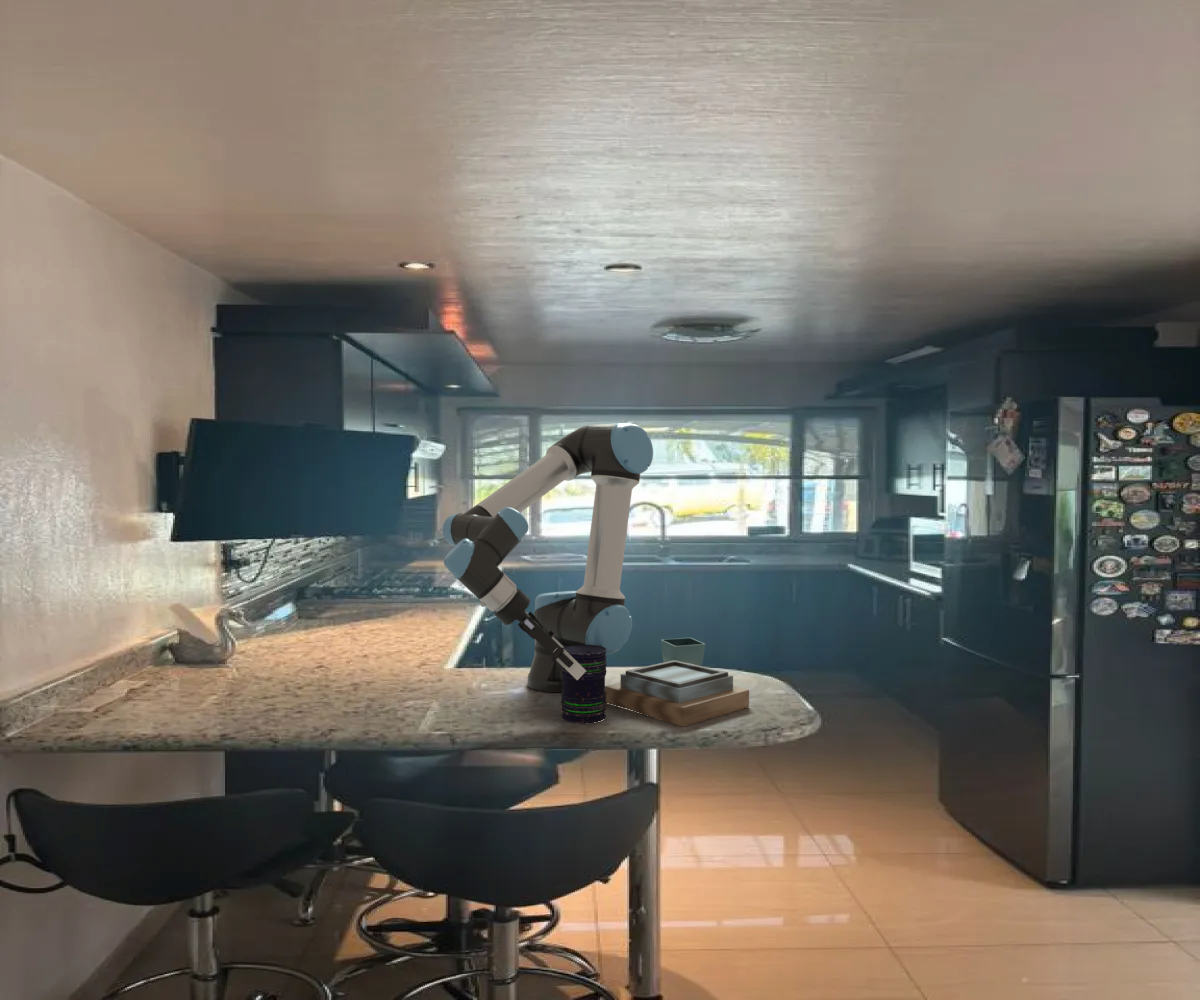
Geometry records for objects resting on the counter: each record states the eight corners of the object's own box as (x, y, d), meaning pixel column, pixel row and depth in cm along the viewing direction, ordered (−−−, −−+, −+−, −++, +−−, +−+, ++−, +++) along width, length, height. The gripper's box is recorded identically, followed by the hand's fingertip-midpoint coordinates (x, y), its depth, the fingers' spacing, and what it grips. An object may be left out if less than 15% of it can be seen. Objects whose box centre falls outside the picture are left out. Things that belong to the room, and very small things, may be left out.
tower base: (604, 703, 212) (605, 669, 212) (670, 687, 227) (670, 655, 227) (683, 726, 195) (683, 689, 194) (748, 707, 210) (749, 673, 209)
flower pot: (705, 678, 237) (706, 643, 236) (674, 681, 233) (675, 646, 233) (690, 670, 245) (690, 637, 244) (659, 673, 241) (660, 639, 241)
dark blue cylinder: (554, 713, 204) (555, 646, 203) (596, 709, 207) (597, 643, 207) (569, 726, 195) (569, 655, 194) (613, 721, 198) (613, 652, 197)
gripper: (487, 603, 207) (553, 667, 211) (499, 623, 183) (574, 695, 187) (510, 579, 208) (576, 643, 212) (526, 596, 184) (599, 668, 188)
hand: (575, 668), depth 199 cm, fingers open, 13 cm apart
